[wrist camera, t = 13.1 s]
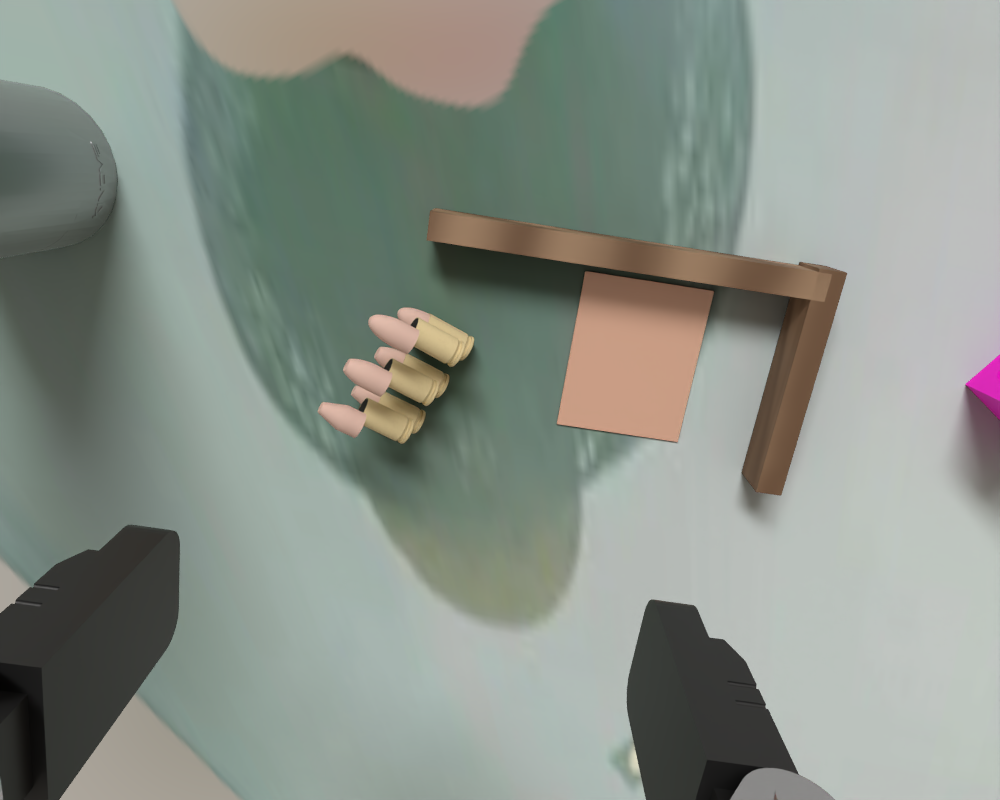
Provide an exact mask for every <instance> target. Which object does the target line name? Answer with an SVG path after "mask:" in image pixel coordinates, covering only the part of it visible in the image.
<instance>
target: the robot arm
mask: <svg viewBox="0 0 1000 800" xmlns="http://www.w3.org/2000/svg"><path fill="white" fill-rule="evenodd" d="M117 182H118V181H117V171H116V163H115V160H114V157H113V154H112V151H111V148H110V145H109V143H108V142H107V140H106V138H105V136H104V134H103V132H102V130H101V129H100V128H99V126H98V125H97V124H96V122H95V121H94V120H93V119H92V117H91V116H90V115H89V114H88V113H87V112H86V111H84V110H83V109H82V108H81V107H80V106H79V105H78V104H77V103H75V102H74V101H72V100H70V99H69V98H67V97H65V96H64V95H62V94H61V93H58V92H55V91H53V90H50V89H47V88H45V87H40V86H34V85H28V84H22V83H17V82H11V81H5V80H0V258H6V257H11V256H17V255H22V254H29V253H35V252H40V251H46V250H51V249H57V248H62V247H67V246H70V245H74V244H77V243H80V242H82V241H84V240H86V239H87V238H89V237H91V236H93V235H94V234H95V233H96V232H97V231H98V230H99V229H100V228H101V227H102V226H103V225H104V223H105V221H106V220H107V218H108V217H109V215H110V213H111V211H112V208H113V205H114V202H115V199H116V192H117ZM179 560H180V541H179V536H178V534H177V532H176V531H172V530H165V529H158V528H151V527H144V526H137V525H127V526H125V527H124V528H123V529H122V530H121V531H120V532H119V533H118V534H117V535H115V536H114V537H113V538H112V539H111V540H110V541H109V542H108V543H107V544H106V545H105V546H104V547H103V548H102V549H100V550H99V551H96V550H89V549H88V550H86V551H84V552H82V553H79V554H77V555H75V556H73V557H71V558H69V559H66V560H64V561H62V562H60V563H58V564H56V565H55V566H54V567H53V568H51V569H50V570H49V571H48V572H47V573H46V574H45V575H43V576H42V577H41V578H40V579H39V580H38V581H37V582H35V583H34V587H33V588H31V587H30V588H29V589H28V590H26V591H25V592H24V593H23V594H22V595H21V596H20V597H18V598H17V599H16V602H15V604H10V605H9V606H8V607H7V608H6V609H5V610H4V611H2V612H1V613H0V800H59V799H60V798H61V796H62V795H63V794H64V792H65V791H66V789H67V788H68V786H69V785H70V784H71V782H72V781H73V779H74V778H75V777H76V775H77V774H78V772H79V771H80V770H81V768H82V767H83V765H84V764H85V763H86V761H87V760H88V759H89V757H90V756H91V754H92V753H93V752H94V750H95V749H96V747H97V746H98V745H99V743H100V742H101V740H102V739H103V737H104V736H105V735H106V733H107V732H108V731H109V729H110V727H111V726H112V725H113V723H114V722H115V721H116V719H117V718H118V716H119V715H120V714H121V712H122V711H123V709H124V708H125V707H126V705H127V704H128V702H129V701H130V700H131V698H132V697H133V695H134V694H135V693H136V691H137V690H138V688H139V687H140V686H141V684H142V683H143V681H144V680H145V679H146V677H147V676H148V674H149V673H150V672H151V670H152V669H153V667H154V666H155V665H156V663H157V662H158V660H159V659H160V658H161V656H162V655H163V653H164V652H165V651H166V649H167V647H168V646H169V644H170V642H171V639H172V637H173V634H174V631H175V628H176V624H177V619H178V611H179ZM765 705H766V704H765V702H764V700H763V698H762V695H761V693H760V691H759V689H756V683H755V681H754V678H753V676H752V674H751V672H750V670H749V668H748V666H747V664H746V661H745V660H744V659H743V658H742V657H741V656H740V655H739V654H738V653H737V652H736V651H735V650H734V649H733V648H732V647H731V646H730V645H729V644H728V643H727V642H726V641H725V640H723V639H715V638H709V636H708V634H707V632H706V629H705V627H704V624H703V622H702V620H701V617H700V615H699V612H698V610H697V608H696V607H695V606H694V605H688V604H681V603H673V602H666V601H659V600H650V601H649V602H648V604H647V606H646V609H645V612H644V616H643V620H642V624H641V628H640V632H639V636H638V641H637V645H636V649H635V653H634V657H633V661H632V665H631V669H630V673H629V678H628V686H627V710H628V717H629V721H630V726H631V731H632V735H633V740H634V745H635V750H636V754H637V759H638V764H639V768H640V773H641V778H642V783H643V787H644V792H645V797H646V800H835V799H834V798H833V797H832V796H831V795H830V794H828V793H827V792H826V791H825V790H823V789H822V788H821V787H820V786H818V785H817V784H815V783H813V782H812V781H810V780H808V779H806V778H805V777H803V776H800V775H799V774H798V772H797V770H796V768H795V765H794V763H793V761H792V759H791V757H790V755H789V753H788V751H787V748H786V746H785V744H784V742H783V740H782V738H781V736H780V734H779V731H778V729H777V727H776V725H775V723H774V721H773V719H772V717H771V715H770V712H769V710H768V709H766V708H765Z"/></svg>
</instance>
